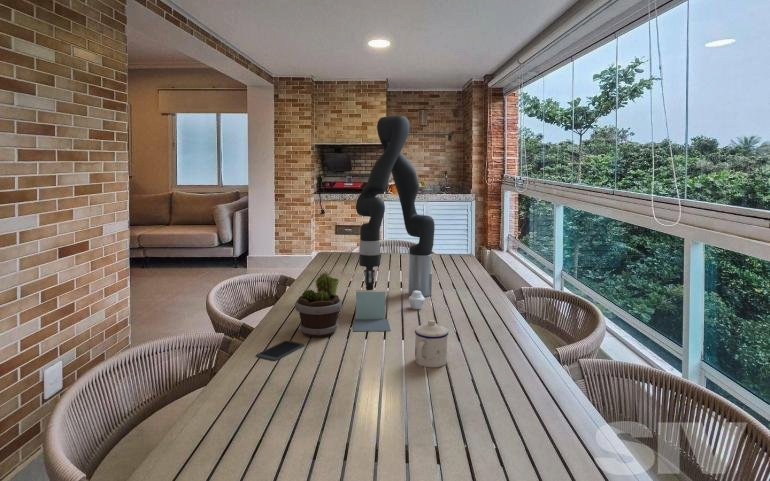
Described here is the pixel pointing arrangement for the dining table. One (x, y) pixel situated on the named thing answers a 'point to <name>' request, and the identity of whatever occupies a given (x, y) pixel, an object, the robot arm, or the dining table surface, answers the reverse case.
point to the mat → (370, 325)
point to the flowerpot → (319, 309)
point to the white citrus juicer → (416, 300)
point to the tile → (370, 304)
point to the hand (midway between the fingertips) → (369, 299)
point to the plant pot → (333, 285)
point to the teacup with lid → (431, 345)
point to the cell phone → (280, 350)
